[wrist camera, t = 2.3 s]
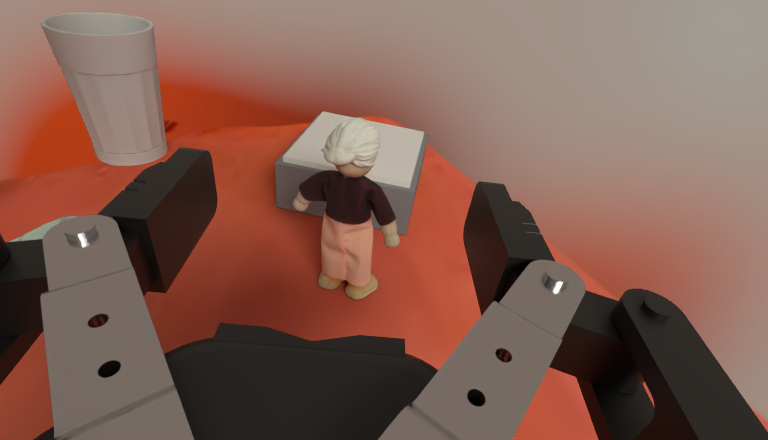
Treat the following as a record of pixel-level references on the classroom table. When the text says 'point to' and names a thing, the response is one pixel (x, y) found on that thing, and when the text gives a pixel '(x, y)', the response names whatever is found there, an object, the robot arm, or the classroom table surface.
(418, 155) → the plinth
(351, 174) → the grandmother figurine
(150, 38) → the cup
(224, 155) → the classroom table surface
